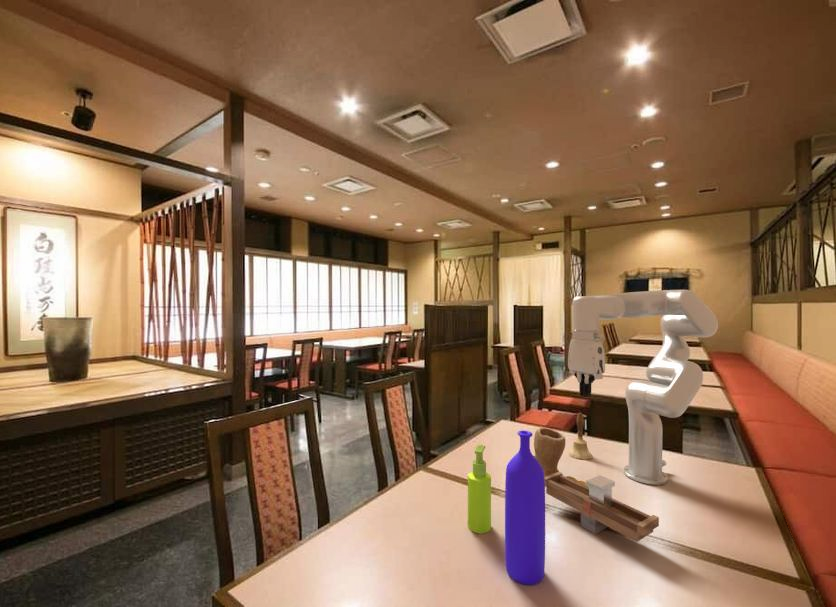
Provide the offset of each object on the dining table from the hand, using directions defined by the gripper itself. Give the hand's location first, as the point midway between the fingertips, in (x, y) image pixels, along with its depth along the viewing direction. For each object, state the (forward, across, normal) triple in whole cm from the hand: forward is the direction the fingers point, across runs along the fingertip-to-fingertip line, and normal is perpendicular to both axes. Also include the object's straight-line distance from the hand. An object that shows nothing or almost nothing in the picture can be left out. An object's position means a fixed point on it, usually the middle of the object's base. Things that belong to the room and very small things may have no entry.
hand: (585, 395), depth 115 cm
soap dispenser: (+29, +3, +40) cm, 50 cm away
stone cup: (+29, +14, +2) cm, 33 cm away
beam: (+29, -13, +15) cm, 35 cm away
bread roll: (+30, +1, +4) cm, 30 cm away
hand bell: (+29, +17, -22) cm, 40 cm away
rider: (+23, -15, +15) cm, 31 cm away
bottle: (+29, -15, +43) cm, 54 cm away
